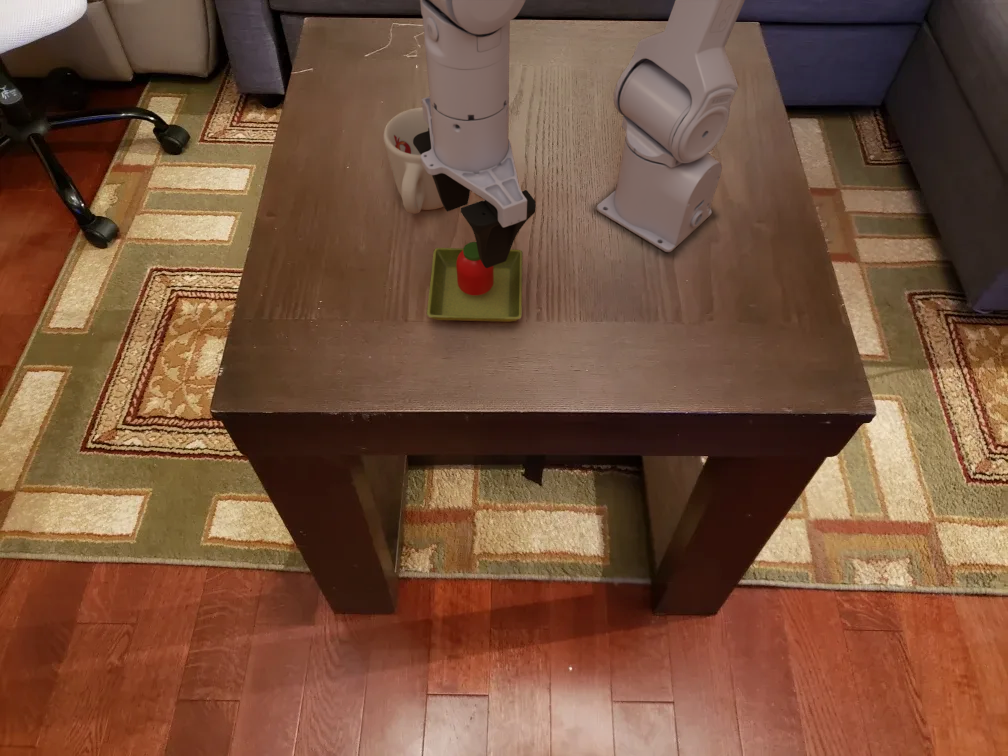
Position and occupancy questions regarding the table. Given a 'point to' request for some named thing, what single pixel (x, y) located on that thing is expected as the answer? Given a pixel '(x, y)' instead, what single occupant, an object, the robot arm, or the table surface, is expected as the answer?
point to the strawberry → (473, 271)
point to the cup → (410, 162)
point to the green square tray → (489, 306)
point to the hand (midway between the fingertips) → (474, 233)
